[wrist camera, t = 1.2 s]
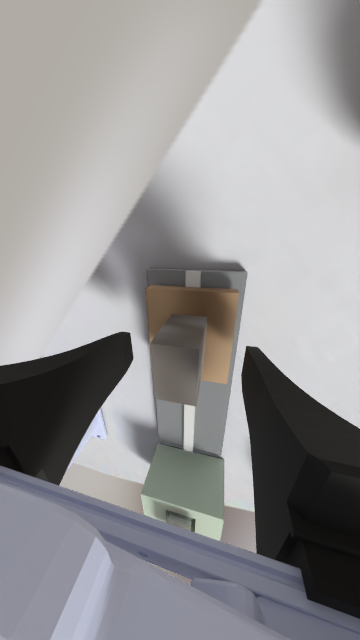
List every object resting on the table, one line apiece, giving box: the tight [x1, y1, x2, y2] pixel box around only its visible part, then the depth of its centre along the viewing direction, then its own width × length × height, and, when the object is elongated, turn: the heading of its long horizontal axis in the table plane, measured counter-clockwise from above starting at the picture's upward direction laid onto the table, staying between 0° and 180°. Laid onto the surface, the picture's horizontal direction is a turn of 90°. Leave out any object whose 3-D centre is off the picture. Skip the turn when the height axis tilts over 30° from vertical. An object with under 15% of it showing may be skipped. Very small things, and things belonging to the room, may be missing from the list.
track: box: [146, 268, 247, 455], centre depth 16 cm, size 7×19×1 cm, turn 0°
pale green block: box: [141, 444, 224, 541], centre depth 20 cm, size 8×6×5 cm
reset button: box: [168, 511, 192, 531], centre depth 18 cm, size 3×3×2 cm
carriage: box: [145, 285, 239, 407], centre depth 11 cm, size 6×7×5 cm
